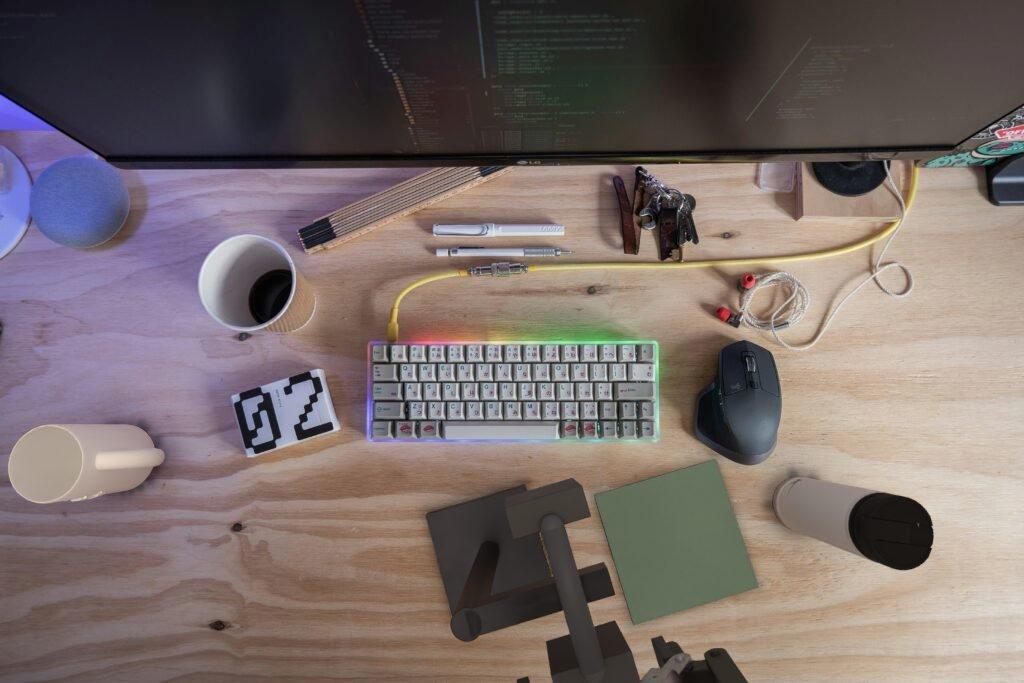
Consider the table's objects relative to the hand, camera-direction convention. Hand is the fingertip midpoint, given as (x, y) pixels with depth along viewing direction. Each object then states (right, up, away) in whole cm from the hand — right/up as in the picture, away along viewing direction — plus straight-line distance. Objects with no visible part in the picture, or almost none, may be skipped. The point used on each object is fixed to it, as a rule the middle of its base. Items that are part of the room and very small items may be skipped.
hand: (594, 673), depth 37 cm
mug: (-50, +6, +36) cm, 62 cm away
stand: (-5, -3, +34) cm, 34 cm away
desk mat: (+14, -3, +33) cm, 36 cm away
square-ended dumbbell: (-1, +1, +13) cm, 13 cm away
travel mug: (+28, +1, +34) cm, 44 cm away
